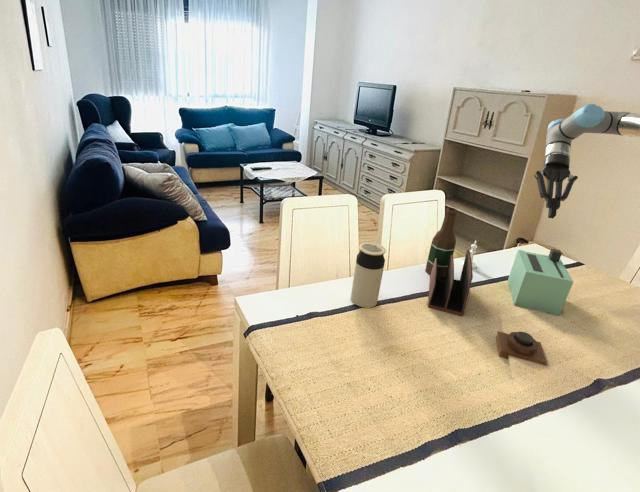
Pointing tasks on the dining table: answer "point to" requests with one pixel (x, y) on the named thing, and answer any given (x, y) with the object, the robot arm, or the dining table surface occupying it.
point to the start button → (524, 338)
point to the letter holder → (450, 287)
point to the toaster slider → (555, 255)
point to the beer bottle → (443, 244)
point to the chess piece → (472, 254)
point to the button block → (519, 348)
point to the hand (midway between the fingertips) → (552, 216)
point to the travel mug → (368, 274)
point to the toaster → (539, 283)
